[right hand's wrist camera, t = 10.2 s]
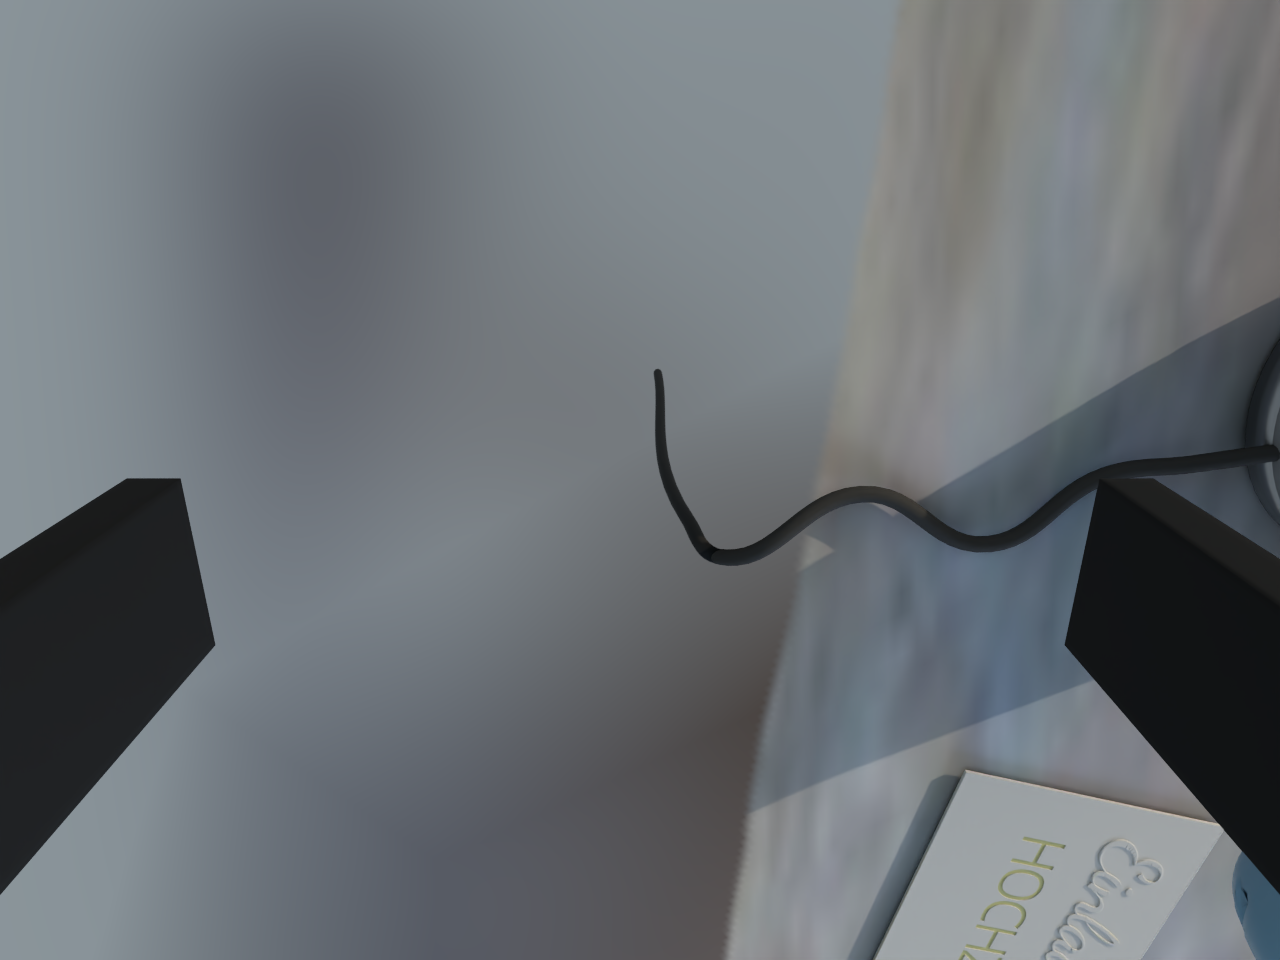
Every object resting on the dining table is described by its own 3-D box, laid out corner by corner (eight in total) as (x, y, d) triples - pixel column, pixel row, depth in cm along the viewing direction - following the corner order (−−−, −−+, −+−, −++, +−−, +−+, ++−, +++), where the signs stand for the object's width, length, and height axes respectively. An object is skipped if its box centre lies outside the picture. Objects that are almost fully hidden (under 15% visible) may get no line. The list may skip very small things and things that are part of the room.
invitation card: (967, 773, 44) (1226, 828, 46) (965, 769, 45) (1223, 824, 46) (834, 1045, 52) (1060, 1086, 53) (833, 1041, 52) (1058, 1081, 54)
